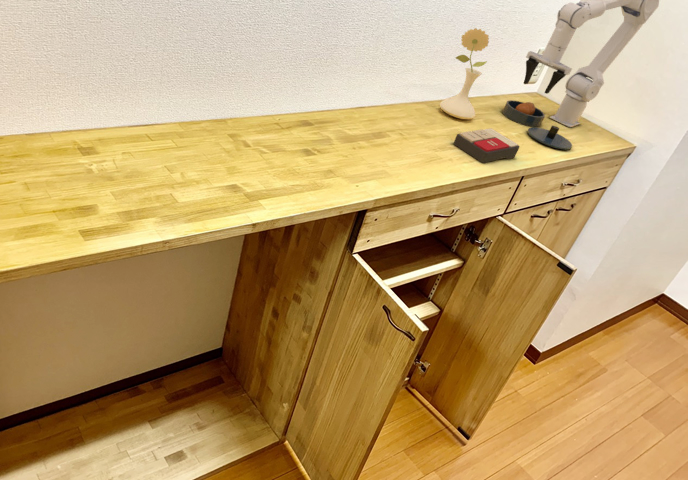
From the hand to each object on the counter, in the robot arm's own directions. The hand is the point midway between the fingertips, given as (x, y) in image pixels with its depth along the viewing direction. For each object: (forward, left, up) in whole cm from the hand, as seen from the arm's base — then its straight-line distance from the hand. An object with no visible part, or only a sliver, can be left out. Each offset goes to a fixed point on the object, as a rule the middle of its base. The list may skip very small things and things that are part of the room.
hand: (535, 88), depth 185 cm
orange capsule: (0, 0, -10) cm, 10 cm away
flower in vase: (+28, -11, -11) cm, 31 cm away
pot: (0, 0, -10) cm, 10 cm away
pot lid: (+9, +14, -10) cm, 19 cm away
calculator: (+43, +9, -11) cm, 46 cm away
